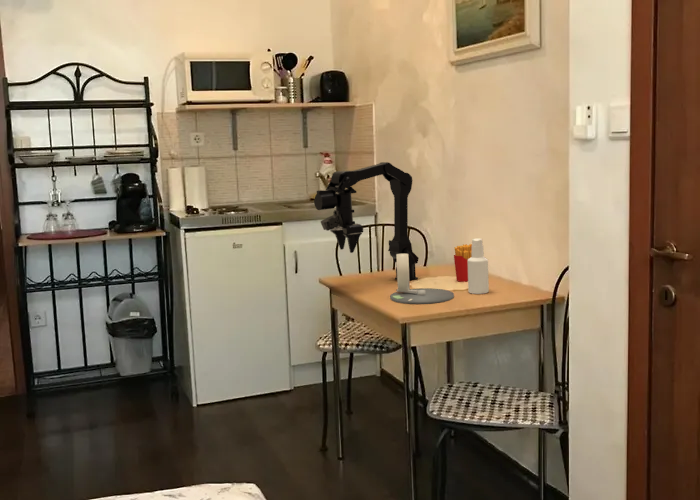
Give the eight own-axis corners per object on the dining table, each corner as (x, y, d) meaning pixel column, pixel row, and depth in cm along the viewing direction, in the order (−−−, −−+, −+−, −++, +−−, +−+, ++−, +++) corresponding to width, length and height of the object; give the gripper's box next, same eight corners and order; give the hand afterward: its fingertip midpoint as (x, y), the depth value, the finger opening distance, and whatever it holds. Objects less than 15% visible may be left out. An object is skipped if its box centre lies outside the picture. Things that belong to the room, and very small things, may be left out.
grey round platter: (429, 288, 273) (429, 281, 272) (466, 297, 254) (466, 290, 254) (378, 296, 262) (378, 290, 262) (413, 307, 244) (413, 300, 244)
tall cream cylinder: (420, 291, 261) (418, 254, 259) (414, 294, 258) (412, 256, 256) (400, 289, 265) (399, 253, 263) (394, 292, 262) (392, 255, 260)
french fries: (458, 282, 280) (457, 246, 278) (452, 280, 284) (451, 245, 282) (480, 279, 283) (480, 244, 281) (474, 277, 287) (474, 242, 285)
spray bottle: (490, 290, 264) (489, 237, 261) (487, 294, 258) (485, 240, 255) (470, 289, 266) (468, 237, 264) (466, 294, 260) (465, 240, 257)
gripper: (313, 207, 278) (316, 250, 281) (332, 211, 261) (335, 257, 264) (341, 204, 283) (344, 246, 285) (362, 208, 266) (365, 253, 268)
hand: (346, 251), depth 275 cm, fingers open, 9 cm apart
